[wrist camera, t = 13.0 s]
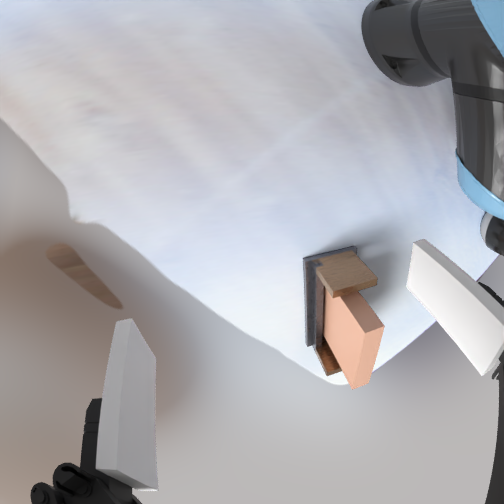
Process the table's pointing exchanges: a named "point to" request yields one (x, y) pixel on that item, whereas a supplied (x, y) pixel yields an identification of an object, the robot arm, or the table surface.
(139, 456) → the robot arm
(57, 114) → the table surface
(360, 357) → the door panel
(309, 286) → the door track
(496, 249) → the pump dispenser
